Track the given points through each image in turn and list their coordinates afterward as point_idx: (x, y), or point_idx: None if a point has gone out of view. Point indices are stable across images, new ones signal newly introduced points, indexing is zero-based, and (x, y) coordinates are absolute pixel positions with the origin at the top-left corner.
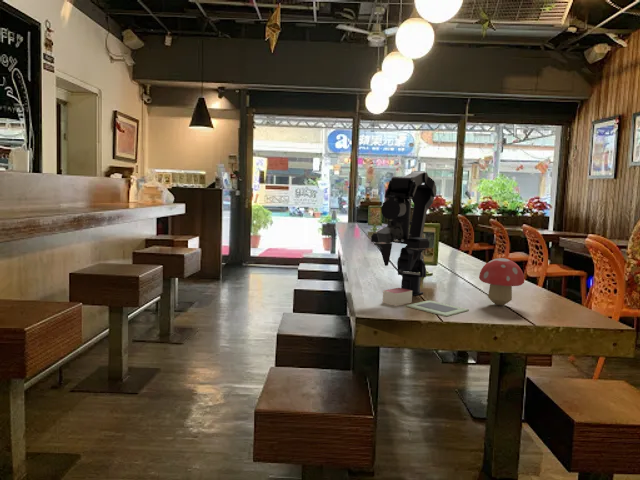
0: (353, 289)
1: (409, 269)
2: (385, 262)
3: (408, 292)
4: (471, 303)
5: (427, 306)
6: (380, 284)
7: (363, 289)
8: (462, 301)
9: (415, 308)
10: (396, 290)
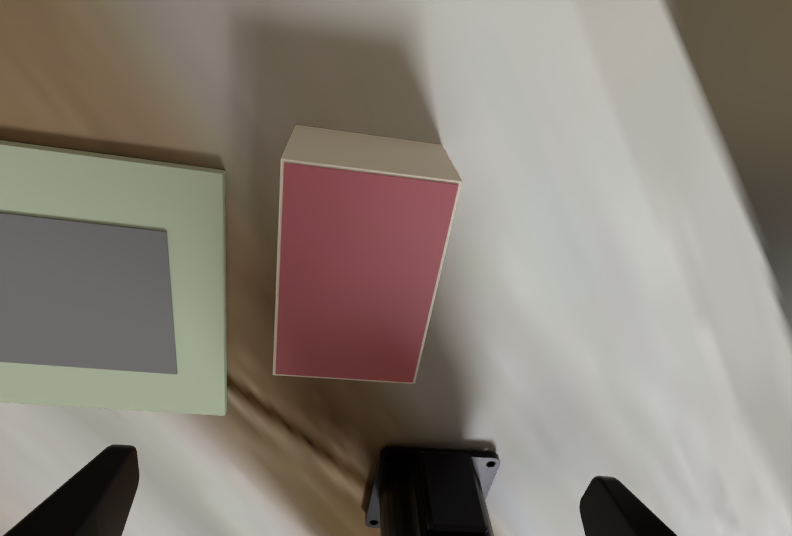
0: (782, 337)
1: (99, 455)
2: (628, 517)
3: (275, 323)
4: None
5: (85, 255)
6: None
7: (716, 381)
8: None
9: (122, 157)
10: (364, 276)
